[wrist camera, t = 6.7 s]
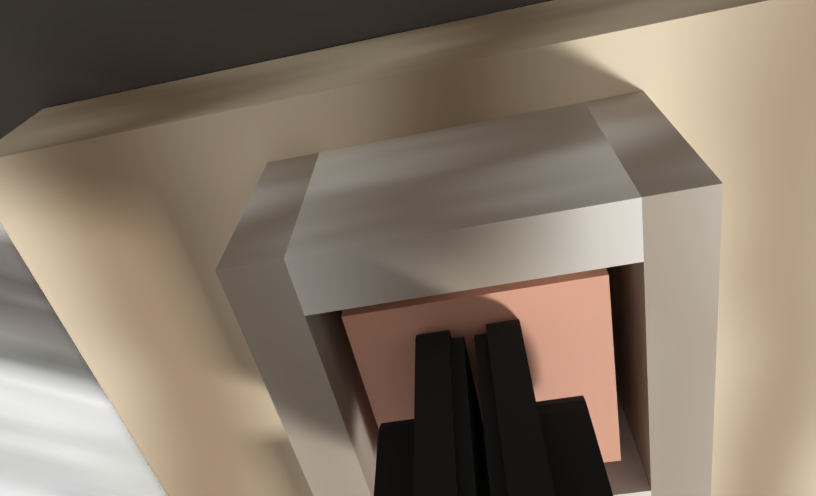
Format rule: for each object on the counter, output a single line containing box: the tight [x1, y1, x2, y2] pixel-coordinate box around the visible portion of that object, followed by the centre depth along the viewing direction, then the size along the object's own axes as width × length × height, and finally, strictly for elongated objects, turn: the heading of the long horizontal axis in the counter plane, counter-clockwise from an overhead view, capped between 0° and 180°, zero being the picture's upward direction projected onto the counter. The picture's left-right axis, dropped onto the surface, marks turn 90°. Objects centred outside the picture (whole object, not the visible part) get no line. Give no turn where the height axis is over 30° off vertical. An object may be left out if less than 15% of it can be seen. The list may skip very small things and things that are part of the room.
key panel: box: [0, 0, 816, 496], centre depth 16 cm, size 18×18×7 cm
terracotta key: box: [341, 268, 621, 462], centre depth 12 cm, size 4×4×3 cm
